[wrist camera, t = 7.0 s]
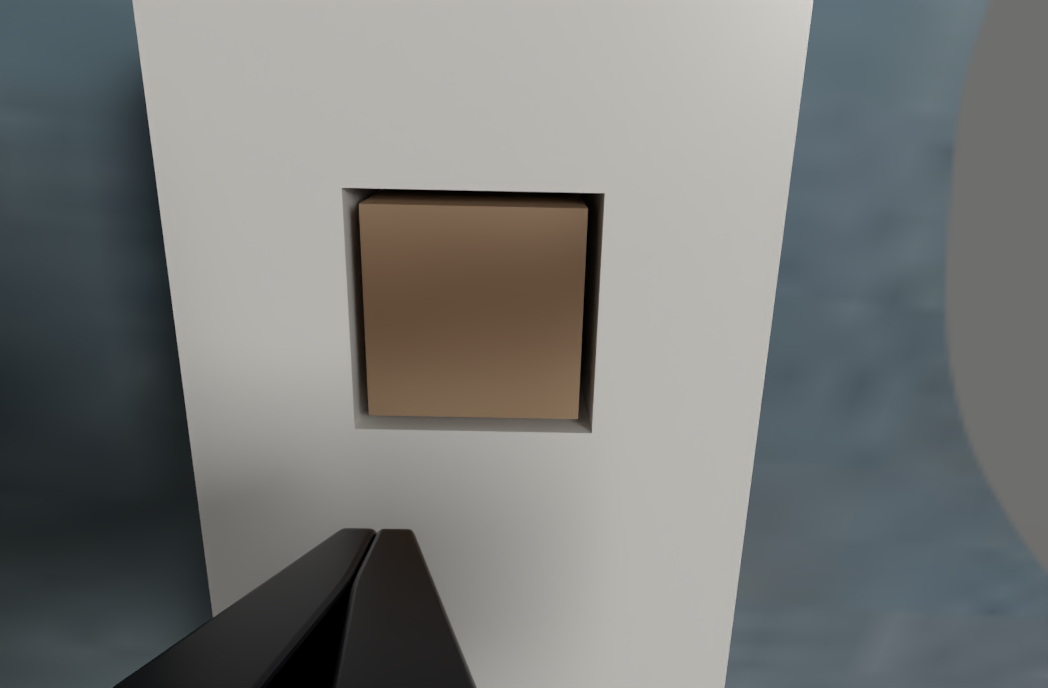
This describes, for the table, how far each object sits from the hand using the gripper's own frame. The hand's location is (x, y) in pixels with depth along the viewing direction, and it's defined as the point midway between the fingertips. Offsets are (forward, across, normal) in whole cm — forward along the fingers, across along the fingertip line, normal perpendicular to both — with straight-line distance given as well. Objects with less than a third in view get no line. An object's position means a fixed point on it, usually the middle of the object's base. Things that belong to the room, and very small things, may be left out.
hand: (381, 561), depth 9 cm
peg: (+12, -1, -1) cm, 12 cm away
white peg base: (+13, -1, +5) cm, 14 cm away
